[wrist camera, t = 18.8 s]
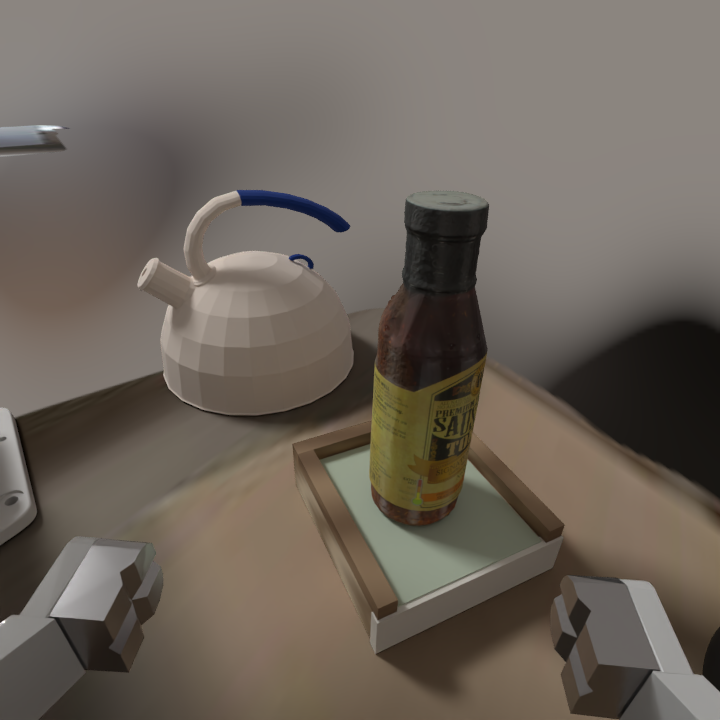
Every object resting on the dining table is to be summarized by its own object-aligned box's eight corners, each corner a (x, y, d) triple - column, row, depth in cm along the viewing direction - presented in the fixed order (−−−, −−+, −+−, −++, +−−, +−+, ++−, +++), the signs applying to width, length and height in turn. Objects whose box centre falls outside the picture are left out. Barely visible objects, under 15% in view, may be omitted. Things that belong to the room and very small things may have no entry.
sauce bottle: (435, 548, 31) (482, 230, 20) (350, 504, 33) (351, 205, 23) (475, 481, 35) (530, 195, 25) (397, 448, 38) (417, 178, 27)
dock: (294, 484, 39) (291, 444, 37) (437, 437, 44) (442, 399, 42) (375, 654, 28) (377, 611, 26) (552, 567, 33) (567, 526, 31)
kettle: (155, 333, 59) (117, 174, 49) (322, 305, 66) (317, 160, 56) (167, 441, 43) (115, 239, 34) (385, 390, 50) (393, 209, 40)
